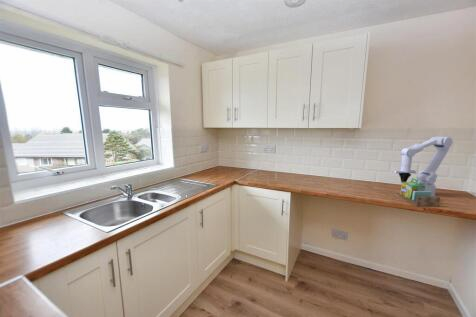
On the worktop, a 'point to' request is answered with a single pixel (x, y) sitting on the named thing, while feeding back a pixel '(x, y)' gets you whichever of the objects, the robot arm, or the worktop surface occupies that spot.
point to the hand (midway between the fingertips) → (403, 182)
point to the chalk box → (411, 188)
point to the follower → (420, 194)
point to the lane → (421, 200)
